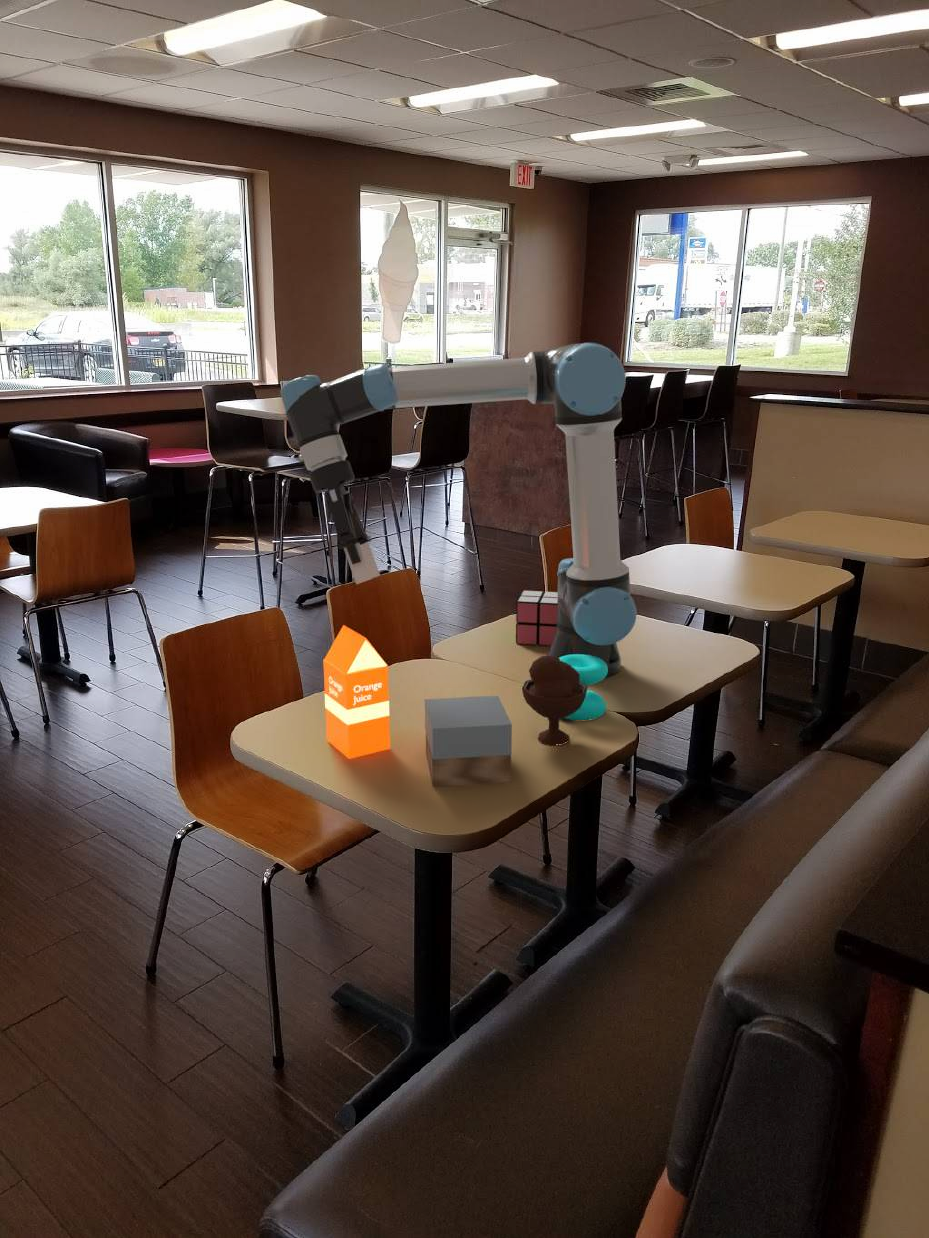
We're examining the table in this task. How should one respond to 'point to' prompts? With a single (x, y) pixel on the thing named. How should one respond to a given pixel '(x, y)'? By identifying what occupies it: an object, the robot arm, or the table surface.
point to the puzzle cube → (536, 618)
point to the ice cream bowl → (553, 694)
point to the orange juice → (356, 696)
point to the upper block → (467, 727)
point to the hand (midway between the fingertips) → (368, 580)
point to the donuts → (589, 674)
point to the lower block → (468, 769)
